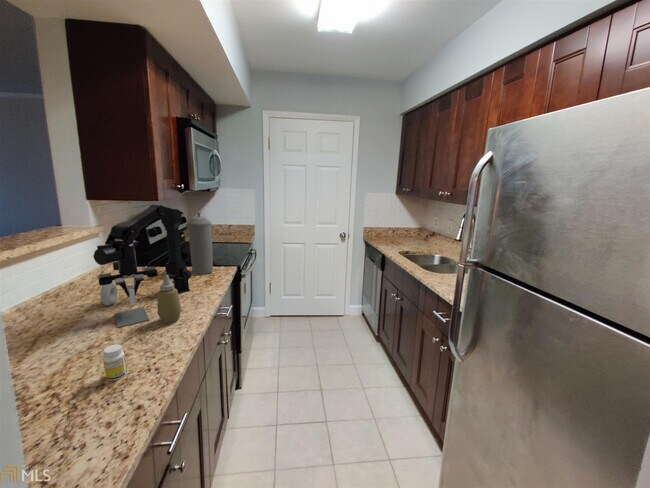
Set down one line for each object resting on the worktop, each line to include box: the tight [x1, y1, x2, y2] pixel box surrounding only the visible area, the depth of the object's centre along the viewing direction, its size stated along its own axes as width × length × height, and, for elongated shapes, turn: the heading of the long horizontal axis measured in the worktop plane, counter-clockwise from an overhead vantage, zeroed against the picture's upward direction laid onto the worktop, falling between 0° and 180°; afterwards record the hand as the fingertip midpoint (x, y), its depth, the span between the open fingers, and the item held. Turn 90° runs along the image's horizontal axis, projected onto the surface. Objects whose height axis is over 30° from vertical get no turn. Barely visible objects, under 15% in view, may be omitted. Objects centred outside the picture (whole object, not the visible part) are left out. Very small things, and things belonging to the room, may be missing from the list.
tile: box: [126, 283, 137, 306], centre depth 114 cm, size 8×2×6 cm, turn 39°
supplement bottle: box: [102, 343, 128, 382], centre depth 79 cm, size 5×5×8 cm
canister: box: [186, 211, 214, 276], centre depth 166 cm, size 13×13×35 cm
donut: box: [99, 281, 118, 306], centre depth 124 cm, size 10×4×10 cm, turn 14°
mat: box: [113, 306, 150, 329], centre depth 114 cm, size 10×14×1 cm
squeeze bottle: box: [157, 274, 182, 324], centre depth 110 cm, size 8×8×18 cm
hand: (131, 296), depth 114 cm, fingers closed on tile, 2 cm apart
